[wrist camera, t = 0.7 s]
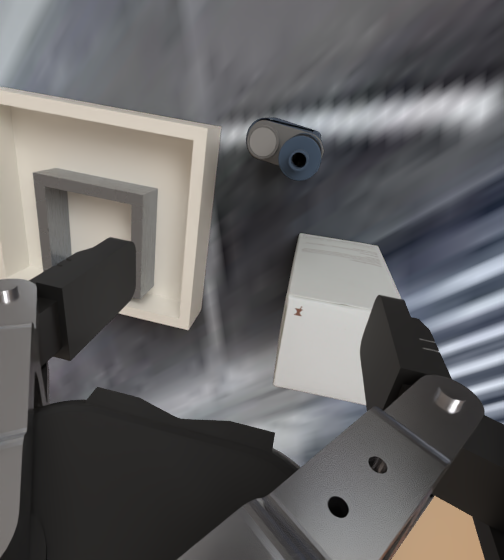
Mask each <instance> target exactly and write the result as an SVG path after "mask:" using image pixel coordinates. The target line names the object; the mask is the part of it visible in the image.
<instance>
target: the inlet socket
mask: <svg viewBox="0 0 504 560" xmlns="http://www.w3.org/2000/svg"><path fill="white" fill-rule="evenodd" d="M33 180H34V190H35V199H36V208H37V218H38V227H39V237H40V246H41V255H42V265H43V272H44V271H46V270H47V269H49V268H51V267H53V266H54V265H55V266H56V265H57V264H58V263H59V262H61V261H63V260H66V258H68V257H69V256H71V255H72V253H71V238H70V223H69V208H68V194H67V191H69V192H74V193H79V194H83V195H88V196H93V197H98V198H102V199H107V200H112V201H117V202H122V203H126V204H131V205H132V207H131V241H132V242H133V243H134V244H135V247H136V288H135V292H134V295H133V297H132V298H136V299H141V298H142V297H143V296H144V295H145V294H146V293H147V292H148V291H149V290H150V289H151V288H152V287H153V286H154V270H155V246H156V222H157V199H158V188H153V187H148V186H143V185H138V184H133V183H128V182H123V181H118V180H113V179H108V178H103V177H99V176H94V175H89V174H84V173H79V172H74V171H69V170H64V169H59V168H53V169H48V170H42V171H37V172H33Z"/></svg>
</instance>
